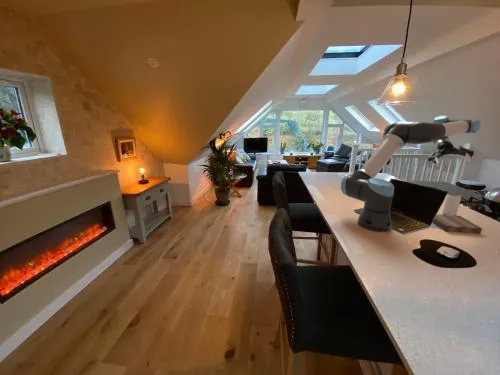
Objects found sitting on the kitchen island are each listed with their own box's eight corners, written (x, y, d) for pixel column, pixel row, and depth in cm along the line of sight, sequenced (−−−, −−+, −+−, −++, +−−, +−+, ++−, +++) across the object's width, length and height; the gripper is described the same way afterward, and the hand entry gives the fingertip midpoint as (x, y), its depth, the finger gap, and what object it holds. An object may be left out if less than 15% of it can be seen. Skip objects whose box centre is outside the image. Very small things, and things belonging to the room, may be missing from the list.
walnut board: (445, 231, 110) (446, 225, 110) (427, 218, 125) (428, 213, 124) (480, 233, 108) (482, 228, 107) (457, 220, 122) (459, 215, 122)
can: (458, 217, 127) (464, 196, 124) (445, 216, 128) (451, 196, 125) (451, 212, 133) (456, 193, 130) (438, 211, 134) (444, 192, 131)
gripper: (471, 147, 137) (484, 165, 121) (419, 155, 150) (426, 171, 134) (471, 136, 133) (485, 152, 118) (419, 145, 146) (425, 160, 131)
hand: (453, 162), depth 126 cm, fingers open, 13 cm apart
